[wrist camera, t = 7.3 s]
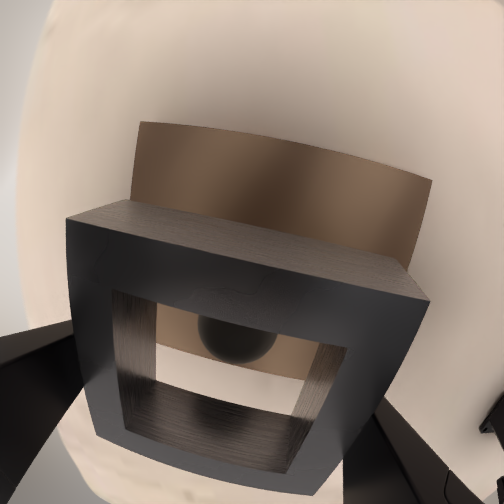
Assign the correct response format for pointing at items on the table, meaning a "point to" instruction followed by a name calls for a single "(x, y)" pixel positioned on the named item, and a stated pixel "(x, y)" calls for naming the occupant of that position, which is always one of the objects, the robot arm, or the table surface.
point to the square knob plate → (271, 218)
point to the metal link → (242, 313)
